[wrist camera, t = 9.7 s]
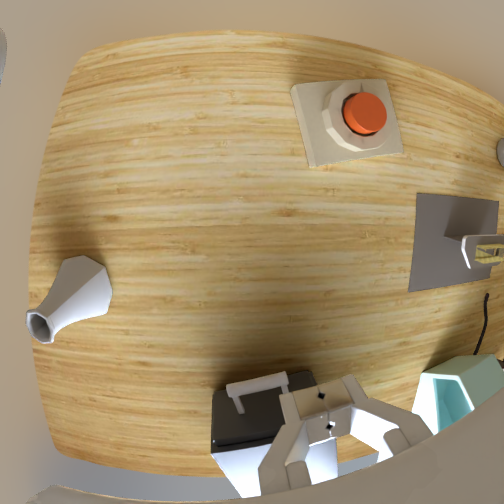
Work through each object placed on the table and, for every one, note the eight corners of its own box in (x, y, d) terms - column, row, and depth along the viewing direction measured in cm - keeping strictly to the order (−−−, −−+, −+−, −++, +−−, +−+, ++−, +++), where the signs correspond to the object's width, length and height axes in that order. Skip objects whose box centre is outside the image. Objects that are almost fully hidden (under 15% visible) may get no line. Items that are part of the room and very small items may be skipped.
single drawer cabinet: (212, 394, 32) (210, 453, 23) (311, 371, 32) (335, 426, 23) (242, 454, 36) (246, 502, 26) (321, 435, 36) (338, 482, 27)
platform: (489, 278, 32) (517, 292, 26) (407, 292, 31) (439, 314, 24) (498, 201, 29) (530, 207, 23) (416, 193, 28) (454, 198, 21)
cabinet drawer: (202, 365, 30) (197, 414, 22) (302, 341, 30) (322, 386, 22) (242, 450, 34) (246, 491, 27) (318, 432, 34) (331, 472, 27)
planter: (405, 370, 40) (485, 376, 20) (439, 356, 40) (520, 350, 21) (414, 451, 34) (481, 487, 15) (446, 434, 35) (517, 456, 15)
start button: (348, 136, 22) (356, 133, 21) (338, 98, 21) (345, 92, 20) (381, 132, 22) (391, 129, 21) (372, 95, 21) (381, 91, 20)
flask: (113, 259, 27) (67, 295, 17) (115, 320, 28) (79, 372, 19) (58, 250, 26) (3, 279, 16) (63, 308, 28) (18, 351, 18)
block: (309, 167, 26) (322, 166, 22) (289, 90, 24) (299, 77, 20) (393, 153, 26) (414, 151, 23) (375, 84, 24) (394, 74, 20)
